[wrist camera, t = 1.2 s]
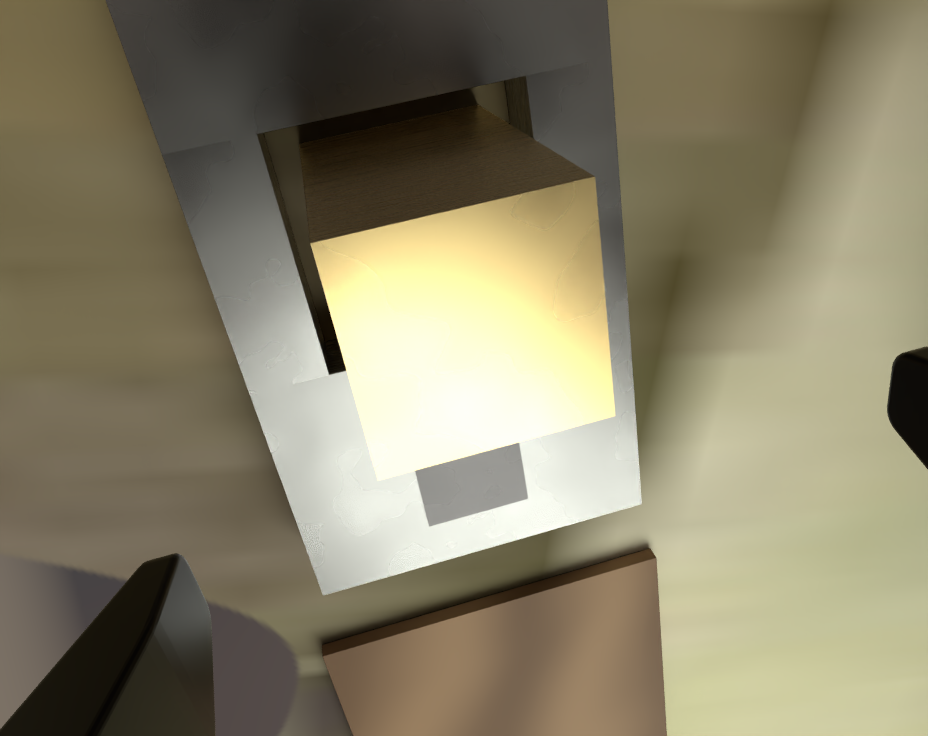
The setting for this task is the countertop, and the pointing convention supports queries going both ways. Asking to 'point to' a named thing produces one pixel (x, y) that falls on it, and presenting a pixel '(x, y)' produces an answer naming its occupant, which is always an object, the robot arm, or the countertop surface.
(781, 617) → the countertop surface
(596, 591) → the copper pad
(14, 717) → the robot arm
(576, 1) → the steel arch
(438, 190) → the wood grain block
